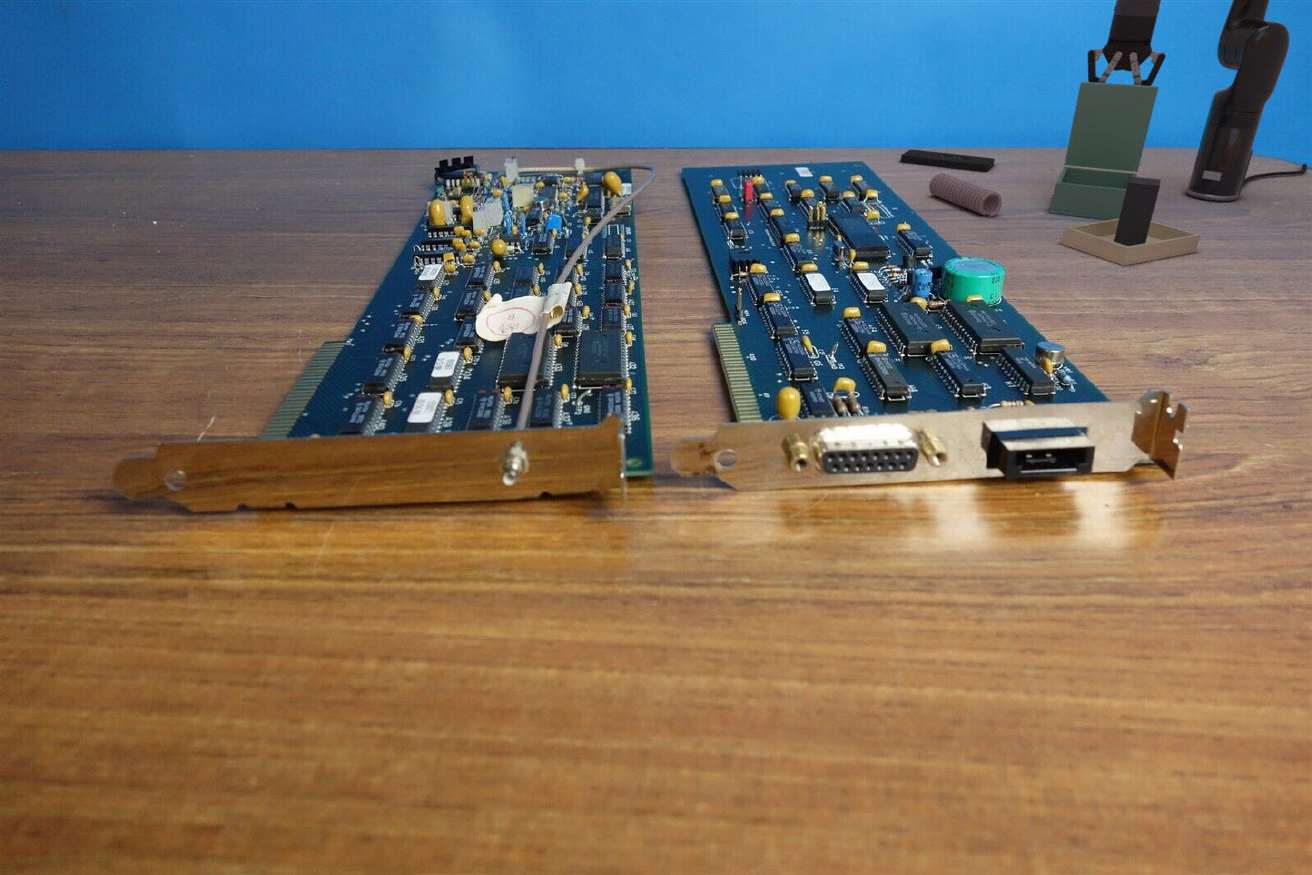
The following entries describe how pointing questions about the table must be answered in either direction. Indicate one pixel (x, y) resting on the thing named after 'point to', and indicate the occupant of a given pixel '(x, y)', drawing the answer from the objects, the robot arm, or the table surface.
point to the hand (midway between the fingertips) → (1114, 107)
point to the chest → (1090, 193)
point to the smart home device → (948, 160)
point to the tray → (1157, 246)
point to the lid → (1110, 125)
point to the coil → (965, 194)
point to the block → (1137, 211)
